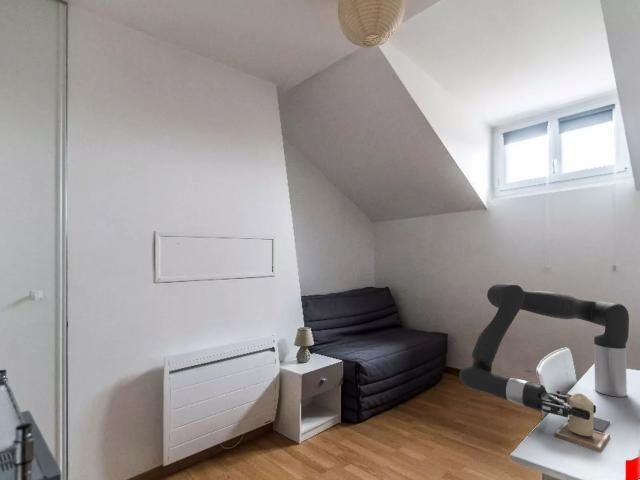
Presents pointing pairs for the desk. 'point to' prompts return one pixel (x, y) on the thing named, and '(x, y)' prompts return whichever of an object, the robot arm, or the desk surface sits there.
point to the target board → (583, 438)
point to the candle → (578, 423)
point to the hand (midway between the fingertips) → (592, 412)
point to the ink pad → (599, 424)
